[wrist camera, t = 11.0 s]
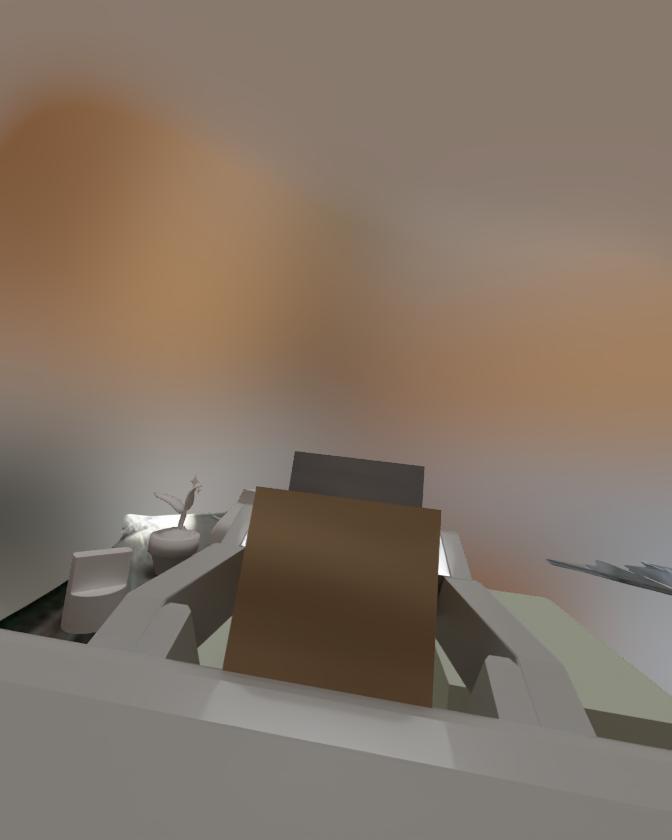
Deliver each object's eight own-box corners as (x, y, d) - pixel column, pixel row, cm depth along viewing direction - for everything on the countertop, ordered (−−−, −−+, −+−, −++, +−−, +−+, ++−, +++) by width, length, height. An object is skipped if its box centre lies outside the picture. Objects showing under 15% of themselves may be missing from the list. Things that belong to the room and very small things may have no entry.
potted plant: (202, 568, 89) (215, 474, 92) (182, 586, 78) (198, 478, 80) (155, 563, 89) (169, 469, 92) (128, 580, 78) (146, 472, 80)
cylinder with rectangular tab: (64, 639, 54) (77, 563, 55) (57, 616, 60) (69, 547, 62) (127, 624, 60) (138, 555, 61) (115, 604, 67) (125, 542, 68)
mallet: (628, 777, 4) (595, 352, 6) (54, 669, 5) (161, 314, 7) (403, 559, 24) (409, 476, 26) (296, 543, 25) (308, 464, 27)
